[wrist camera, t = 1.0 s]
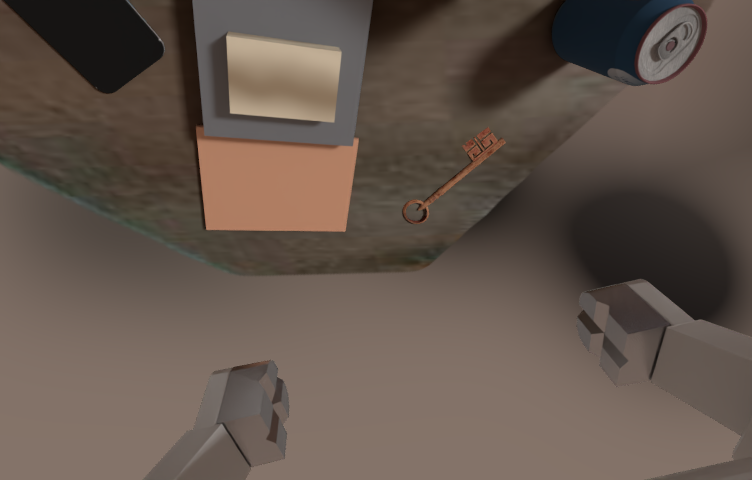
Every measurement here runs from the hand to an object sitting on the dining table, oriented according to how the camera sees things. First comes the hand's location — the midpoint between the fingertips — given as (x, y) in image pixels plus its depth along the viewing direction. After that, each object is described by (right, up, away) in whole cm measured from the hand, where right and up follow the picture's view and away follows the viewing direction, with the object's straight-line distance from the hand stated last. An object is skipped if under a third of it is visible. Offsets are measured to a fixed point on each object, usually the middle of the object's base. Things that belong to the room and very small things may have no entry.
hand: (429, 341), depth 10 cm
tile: (-9, +17, +24) cm, 31 cm away
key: (+7, +11, +38) cm, 40 cm away
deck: (-10, +20, +25) cm, 34 cm away
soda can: (+19, +25, +30) cm, 43 cm away
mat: (-12, +9, +33) cm, 36 cm away
